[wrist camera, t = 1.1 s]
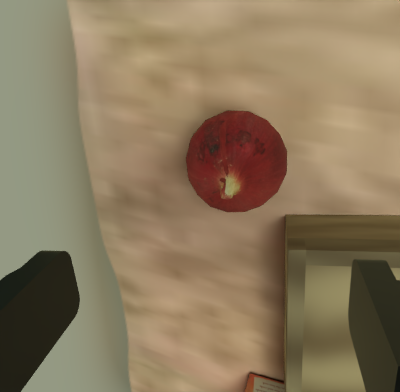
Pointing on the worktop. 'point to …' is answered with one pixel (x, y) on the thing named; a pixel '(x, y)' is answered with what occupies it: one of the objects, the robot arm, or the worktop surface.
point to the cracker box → (263, 384)
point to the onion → (236, 161)
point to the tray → (328, 295)
